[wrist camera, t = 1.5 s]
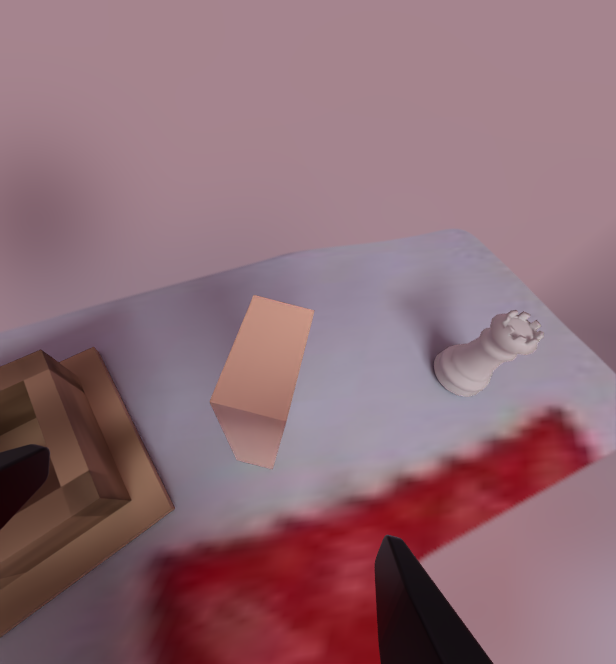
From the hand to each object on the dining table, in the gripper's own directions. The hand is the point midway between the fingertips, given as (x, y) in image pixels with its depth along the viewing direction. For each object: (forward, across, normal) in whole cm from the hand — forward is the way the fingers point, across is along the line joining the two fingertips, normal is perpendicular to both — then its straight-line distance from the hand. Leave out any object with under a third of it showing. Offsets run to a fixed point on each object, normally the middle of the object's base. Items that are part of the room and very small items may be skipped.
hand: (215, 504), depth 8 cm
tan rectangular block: (+12, 0, +6) cm, 14 cm away
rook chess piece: (+19, -15, 0) cm, 24 cm away
